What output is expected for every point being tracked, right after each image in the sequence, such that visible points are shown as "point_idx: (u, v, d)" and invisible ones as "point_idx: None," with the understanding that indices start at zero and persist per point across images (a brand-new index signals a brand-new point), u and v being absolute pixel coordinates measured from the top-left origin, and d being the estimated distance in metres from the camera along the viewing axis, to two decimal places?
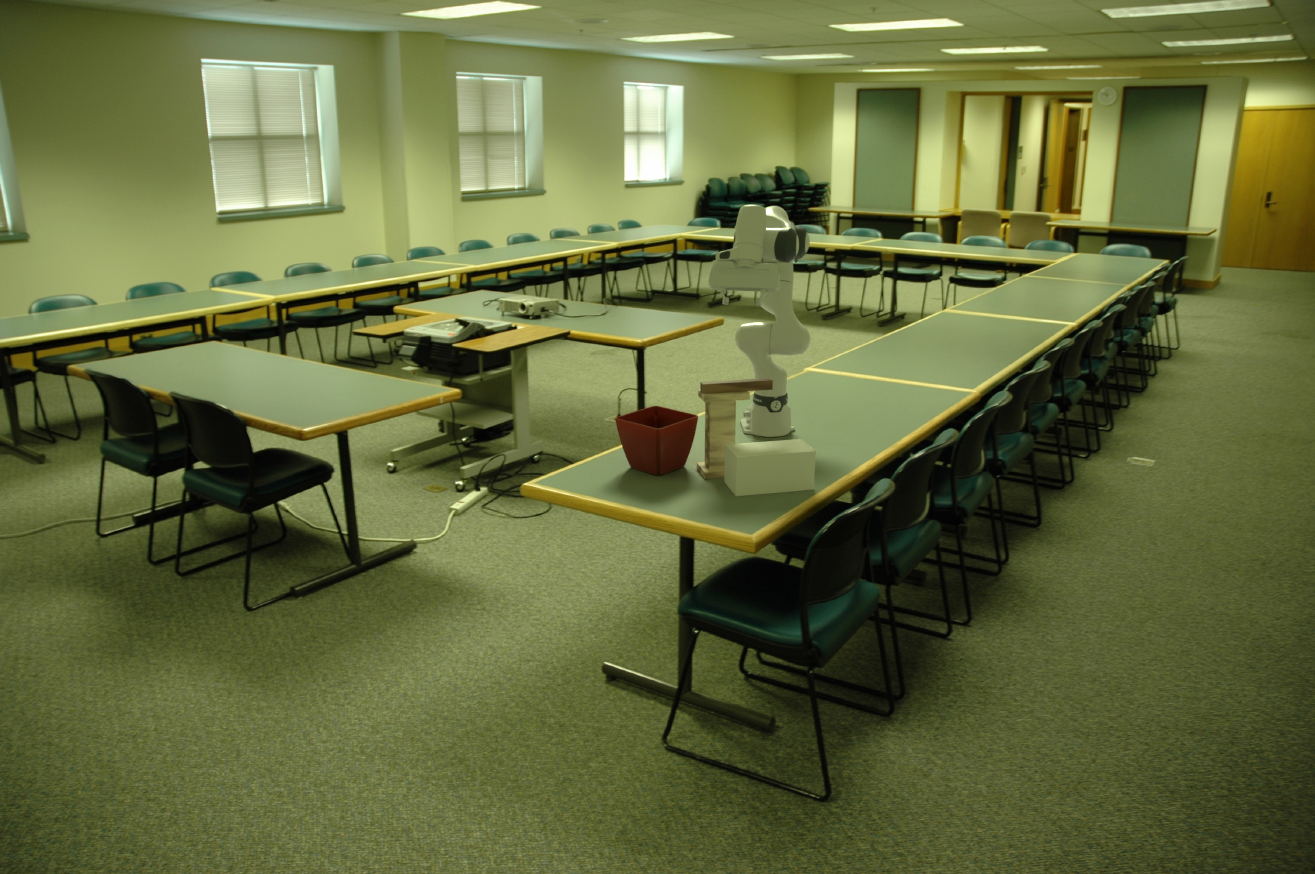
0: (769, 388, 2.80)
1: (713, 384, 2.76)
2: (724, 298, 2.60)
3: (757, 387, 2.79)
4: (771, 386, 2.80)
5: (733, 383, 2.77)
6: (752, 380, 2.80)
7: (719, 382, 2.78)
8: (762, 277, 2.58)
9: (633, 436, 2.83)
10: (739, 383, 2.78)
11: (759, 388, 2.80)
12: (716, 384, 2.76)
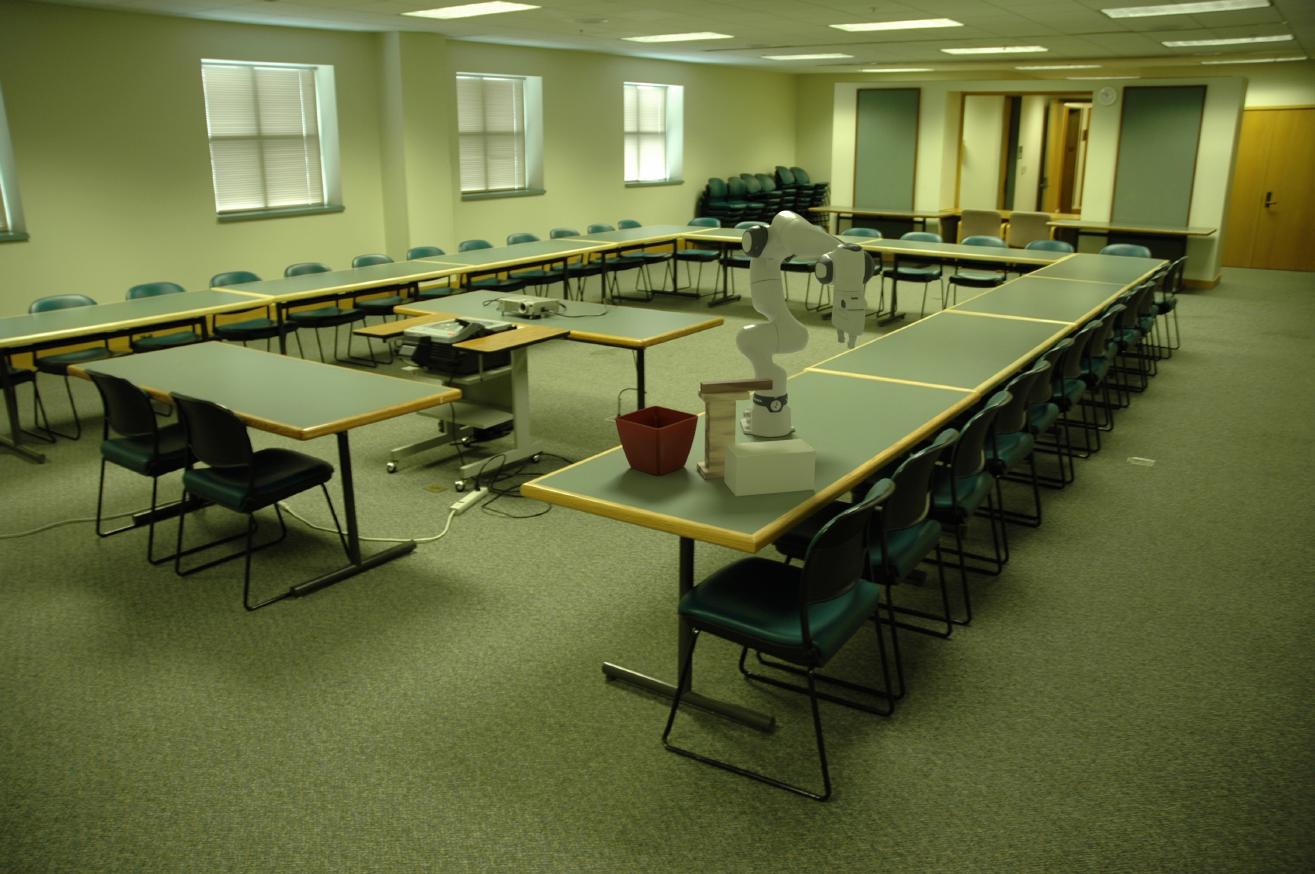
0: (769, 388, 2.80)
1: (713, 384, 2.76)
2: None
3: (757, 387, 2.79)
4: (771, 386, 2.80)
5: (733, 383, 2.77)
6: (752, 380, 2.80)
7: (719, 382, 2.78)
8: None
9: (633, 436, 2.83)
10: (739, 383, 2.78)
11: (759, 388, 2.80)
12: (716, 384, 2.76)
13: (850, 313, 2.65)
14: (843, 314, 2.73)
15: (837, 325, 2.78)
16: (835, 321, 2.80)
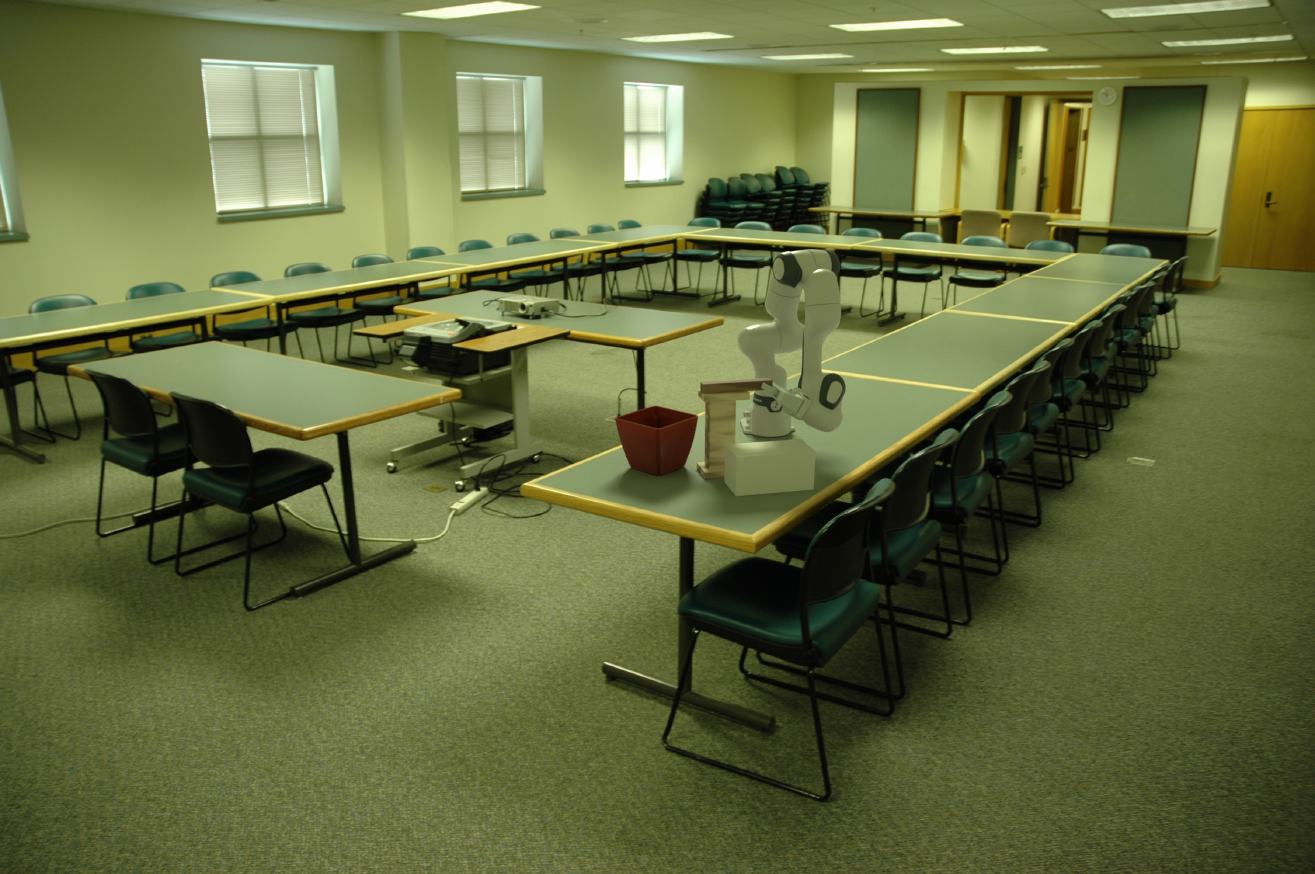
0: None
1: (713, 384, 2.76)
2: (764, 389, 2.79)
3: (757, 387, 2.80)
4: None
5: (733, 383, 2.77)
6: (752, 380, 2.80)
7: (719, 382, 2.78)
8: None
9: (633, 436, 2.83)
10: (739, 383, 2.78)
11: (759, 388, 2.80)
12: (716, 384, 2.76)
13: (802, 400, 2.76)
14: None
15: None
16: (773, 382, 2.88)
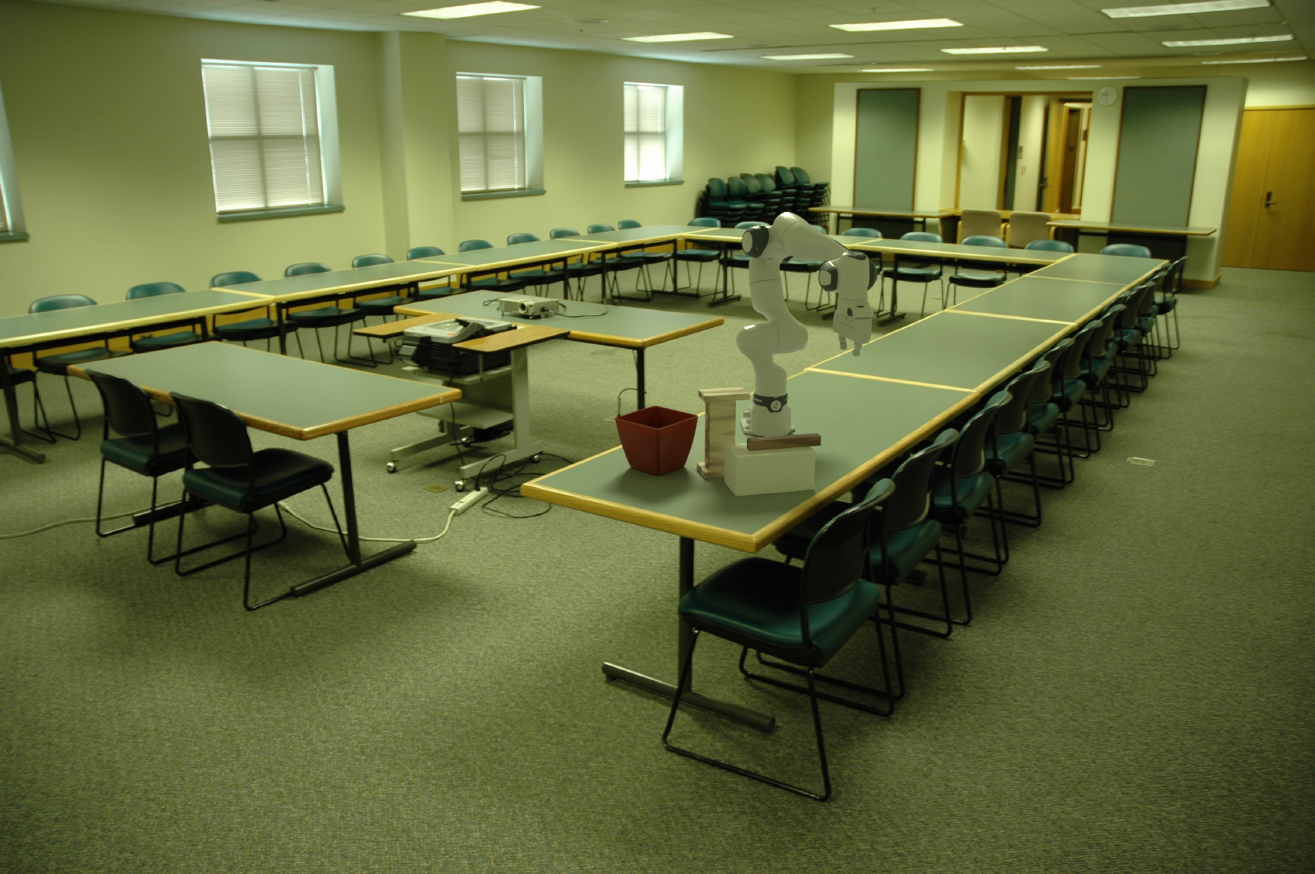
0: (817, 444, 2.73)
1: (760, 441, 2.69)
2: None
3: (805, 443, 2.72)
4: (819, 442, 2.73)
5: (781, 439, 2.70)
6: (800, 436, 2.72)
7: (766, 438, 2.70)
8: None
9: (633, 436, 2.83)
10: (787, 439, 2.70)
11: (807, 444, 2.72)
12: (763, 441, 2.69)
13: (857, 321, 2.67)
14: (847, 322, 2.75)
15: (840, 332, 2.80)
16: (837, 328, 2.82)
